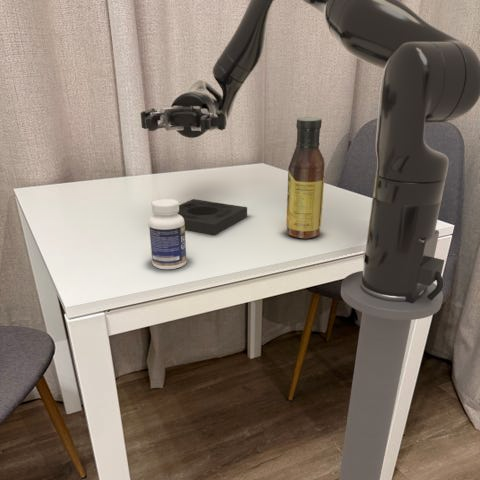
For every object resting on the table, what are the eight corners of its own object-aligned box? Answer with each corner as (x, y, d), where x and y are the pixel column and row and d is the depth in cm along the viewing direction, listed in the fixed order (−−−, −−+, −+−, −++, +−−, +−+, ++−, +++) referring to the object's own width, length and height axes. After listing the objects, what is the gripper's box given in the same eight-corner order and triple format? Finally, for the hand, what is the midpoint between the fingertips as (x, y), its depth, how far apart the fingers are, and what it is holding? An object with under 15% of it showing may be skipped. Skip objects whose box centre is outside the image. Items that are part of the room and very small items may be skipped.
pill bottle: (189, 268, 74) (186, 205, 69) (154, 272, 73) (149, 208, 68) (183, 255, 79) (179, 196, 74) (150, 259, 77) (144, 198, 73)
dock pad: (247, 216, 98) (247, 207, 97) (214, 235, 88) (214, 224, 87) (193, 208, 103) (193, 198, 102) (156, 224, 93) (155, 214, 92)
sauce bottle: (296, 226, 92) (303, 114, 82) (326, 233, 89) (336, 117, 79) (278, 236, 87) (283, 118, 78) (309, 243, 84) (318, 121, 74)
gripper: (155, 90, 89) (130, 98, 75) (232, 91, 88) (220, 99, 74) (158, 133, 93) (135, 148, 79) (232, 135, 92) (221, 150, 77)
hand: (176, 124), depth 76 cm, fingers open, 8 cm apart
